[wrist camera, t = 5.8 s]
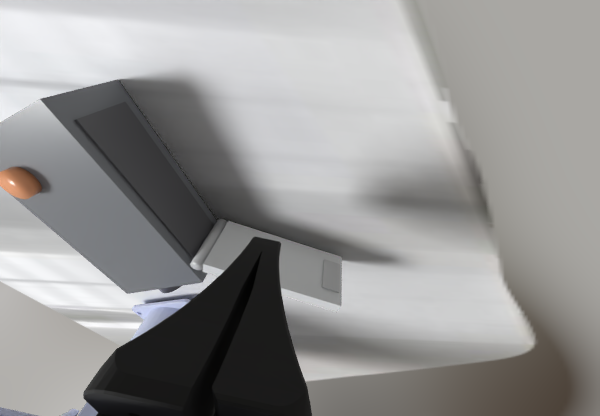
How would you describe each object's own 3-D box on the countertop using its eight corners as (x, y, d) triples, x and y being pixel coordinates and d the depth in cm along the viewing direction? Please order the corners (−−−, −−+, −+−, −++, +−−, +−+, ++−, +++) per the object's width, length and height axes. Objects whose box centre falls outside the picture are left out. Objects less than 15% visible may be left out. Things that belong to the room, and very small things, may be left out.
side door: (216, 226, 19) (190, 269, 16) (218, 215, 19) (190, 258, 15) (337, 264, 20) (335, 313, 16) (342, 255, 19) (342, 305, 16)
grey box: (236, 246, 21) (210, 300, 17) (170, 259, 23) (133, 310, 19) (120, 78, 14) (27, 101, 10) (42, 120, 16) (-59, 153, 12)
